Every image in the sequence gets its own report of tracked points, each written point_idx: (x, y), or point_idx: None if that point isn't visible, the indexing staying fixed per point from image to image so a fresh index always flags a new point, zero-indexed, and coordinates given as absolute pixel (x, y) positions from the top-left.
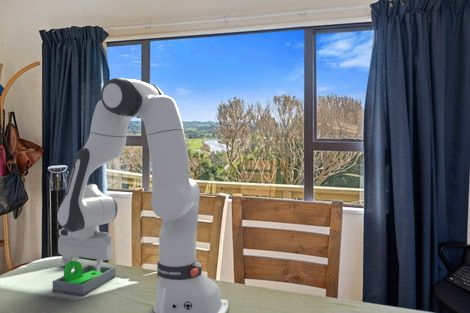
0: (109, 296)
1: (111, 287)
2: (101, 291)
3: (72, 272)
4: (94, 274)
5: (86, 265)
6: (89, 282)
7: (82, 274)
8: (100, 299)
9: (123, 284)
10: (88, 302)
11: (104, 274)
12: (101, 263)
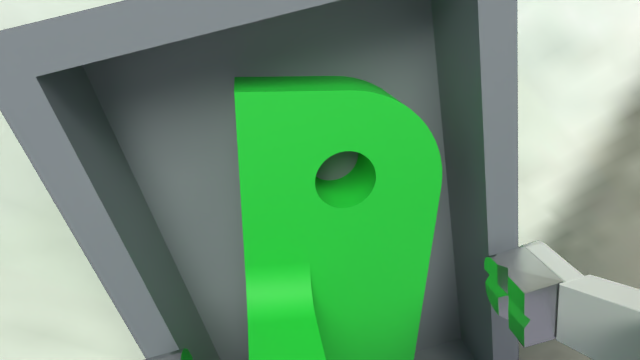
0: (633, 242)
1: (566, 142)
2: (536, 228)
3: (156, 336)
4: (376, 190)
5: (17, 98)
6: (516, 343)
7: (256, 262)
8: None
9: (633, 38)
10: (557, 347)
11: (511, 155)
12: (630, 293)
